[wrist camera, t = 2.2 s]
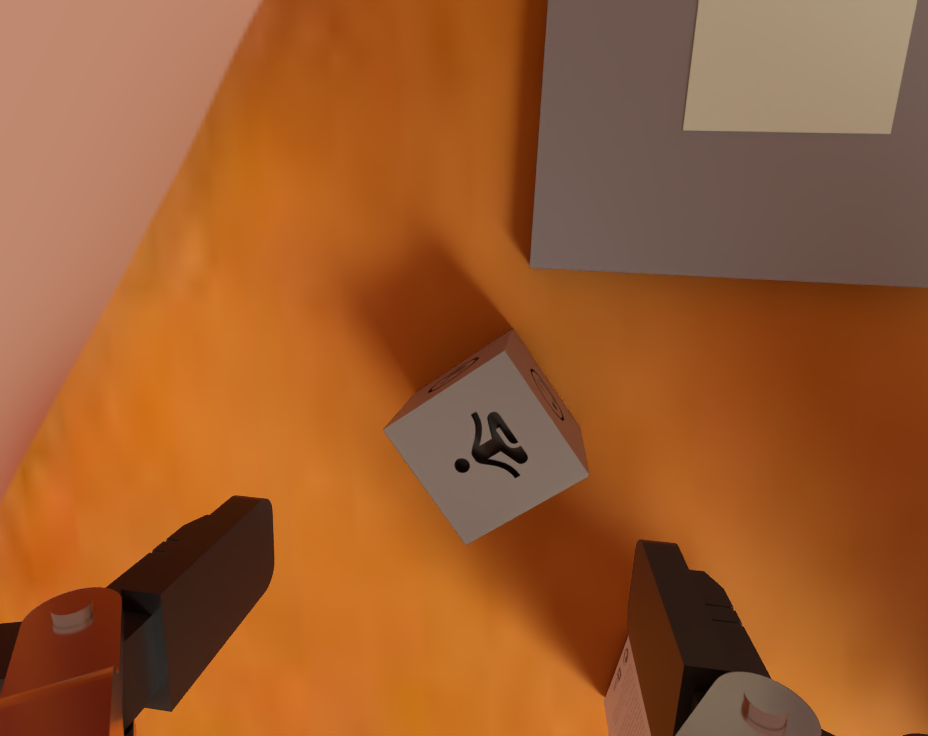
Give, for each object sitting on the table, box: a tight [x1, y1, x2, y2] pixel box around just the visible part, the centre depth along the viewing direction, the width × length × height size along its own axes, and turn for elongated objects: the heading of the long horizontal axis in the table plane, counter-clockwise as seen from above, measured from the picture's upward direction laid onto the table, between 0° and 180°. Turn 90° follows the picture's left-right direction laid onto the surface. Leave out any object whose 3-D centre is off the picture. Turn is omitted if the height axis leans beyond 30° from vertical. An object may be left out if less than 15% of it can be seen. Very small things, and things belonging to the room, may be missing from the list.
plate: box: [530, 0, 928, 288], centre depth 18 cm, size 16×16×2 cm
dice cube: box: [383, 329, 590, 545], centre depth 21 cm, size 5×5×5 cm
